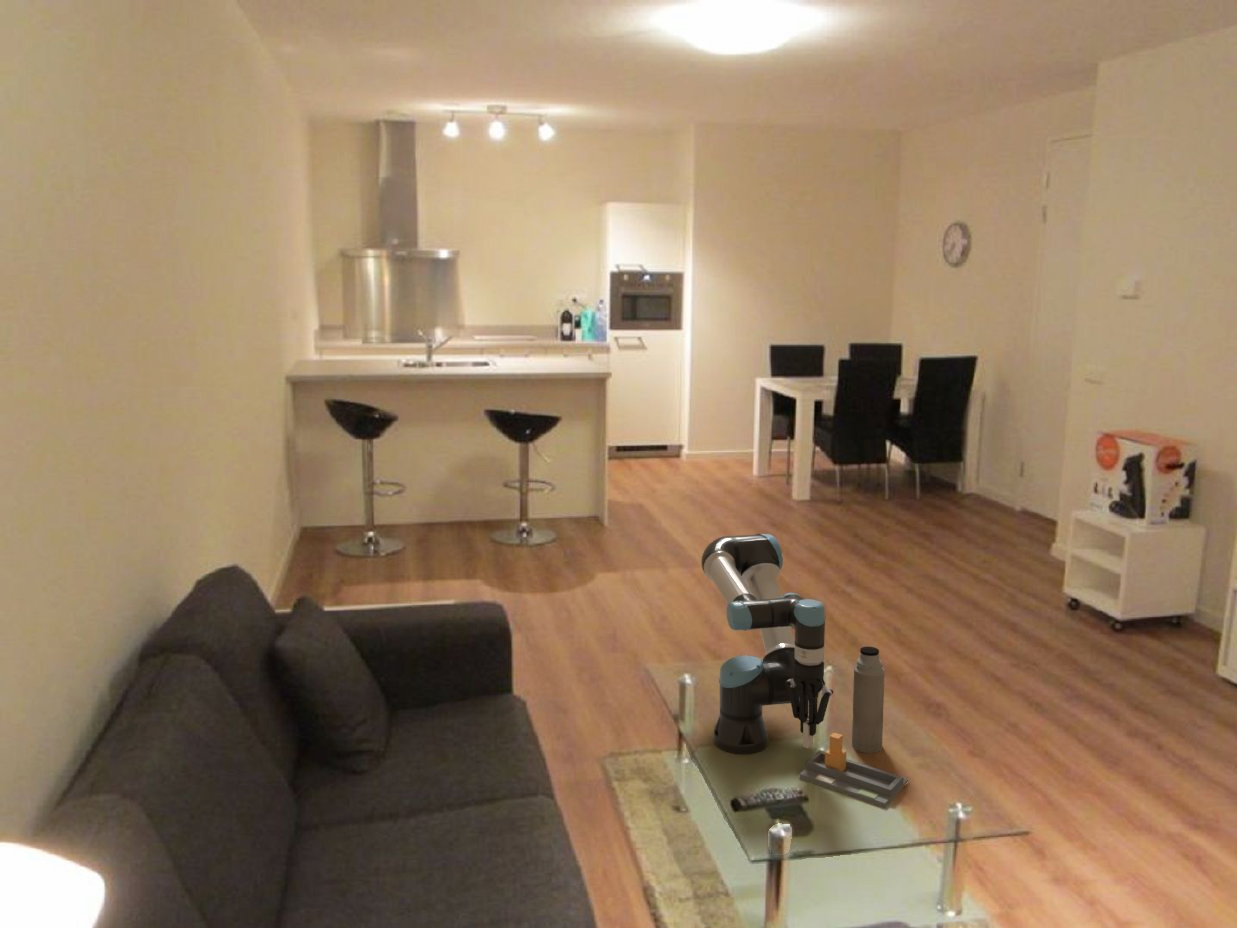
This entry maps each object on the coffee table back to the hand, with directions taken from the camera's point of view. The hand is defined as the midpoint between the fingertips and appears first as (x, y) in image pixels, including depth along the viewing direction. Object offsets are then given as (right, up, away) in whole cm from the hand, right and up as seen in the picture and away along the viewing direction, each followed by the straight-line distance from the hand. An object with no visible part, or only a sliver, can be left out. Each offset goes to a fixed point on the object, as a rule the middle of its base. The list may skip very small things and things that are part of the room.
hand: (807, 745), depth 248 cm
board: (+10, -7, -7) cm, 14 cm away
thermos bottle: (+18, -4, +11) cm, 22 cm away
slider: (+6, -5, -4) cm, 9 cm away
